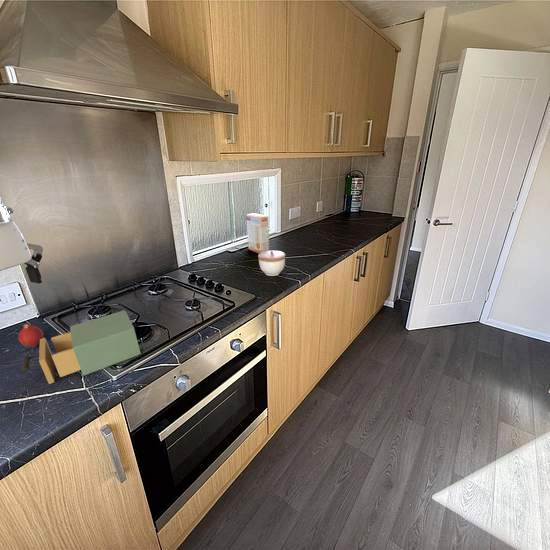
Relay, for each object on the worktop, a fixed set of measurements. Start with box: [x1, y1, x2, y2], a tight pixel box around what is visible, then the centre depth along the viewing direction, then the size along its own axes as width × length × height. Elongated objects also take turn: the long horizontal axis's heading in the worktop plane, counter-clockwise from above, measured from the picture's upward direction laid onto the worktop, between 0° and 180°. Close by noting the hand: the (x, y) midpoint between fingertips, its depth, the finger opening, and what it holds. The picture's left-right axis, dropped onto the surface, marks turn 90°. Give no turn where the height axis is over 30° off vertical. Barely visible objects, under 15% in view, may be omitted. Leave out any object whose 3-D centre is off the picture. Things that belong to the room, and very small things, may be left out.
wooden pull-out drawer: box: [20, 331, 81, 385], centre depth 79 cm, size 18×11×7 cm, turn 126°
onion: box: [18, 324, 44, 348], centre depth 89 cm, size 6×6×8 cm
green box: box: [69, 310, 142, 377], centre depth 85 cm, size 15×13×9 cm
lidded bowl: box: [257, 250, 286, 277], centre depth 136 cm, size 13×13×11 cm
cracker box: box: [245, 212, 270, 255], centre depth 165 cm, size 14×6×21 cm, turn 37°
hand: (14, 291), depth 68 cm, fingers open, 9 cm apart
